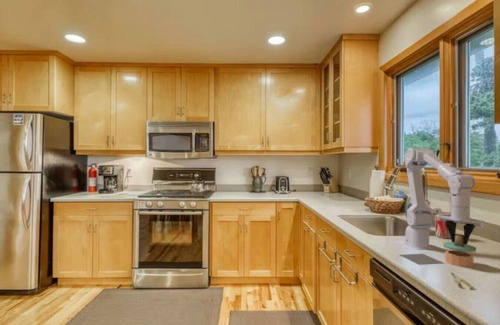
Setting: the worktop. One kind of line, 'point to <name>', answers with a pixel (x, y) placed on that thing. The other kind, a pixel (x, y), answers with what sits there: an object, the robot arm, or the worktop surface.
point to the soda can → (442, 227)
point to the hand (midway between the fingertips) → (459, 242)
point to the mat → (421, 259)
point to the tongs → (463, 282)
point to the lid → (459, 244)
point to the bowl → (459, 258)
